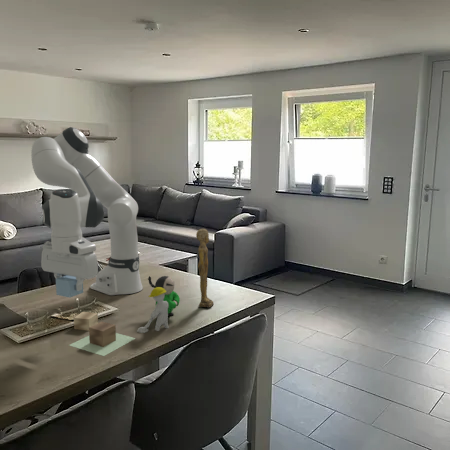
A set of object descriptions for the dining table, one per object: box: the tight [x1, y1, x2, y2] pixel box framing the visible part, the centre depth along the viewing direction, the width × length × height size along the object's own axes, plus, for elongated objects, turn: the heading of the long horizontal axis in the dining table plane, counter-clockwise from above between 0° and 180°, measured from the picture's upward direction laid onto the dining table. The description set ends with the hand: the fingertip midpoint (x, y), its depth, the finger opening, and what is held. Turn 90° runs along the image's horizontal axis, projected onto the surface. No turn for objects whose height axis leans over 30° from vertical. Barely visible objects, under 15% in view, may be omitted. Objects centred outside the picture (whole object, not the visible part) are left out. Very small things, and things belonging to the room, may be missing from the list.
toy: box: [147, 275, 181, 317], centre depth 162 cm, size 10×11×15 cm
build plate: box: [68, 332, 136, 357], centre depth 140 cm, size 14×14×1 cm
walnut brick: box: [88, 321, 117, 347], centre depth 139 cm, size 6×6×5 cm
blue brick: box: [55, 275, 84, 299], centre depth 139 cm, size 6×6×5 cm
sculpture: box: [195, 228, 215, 308], centre depth 172 cm, size 7×6×30 cm
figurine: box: [136, 287, 170, 334], centre depth 149 cm, size 10×9×15 cm
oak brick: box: [73, 311, 99, 332], centre depth 151 cm, size 6×6×5 cm
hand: (69, 288), depth 139 cm, fingers closed on blue brick, 5 cm apart
